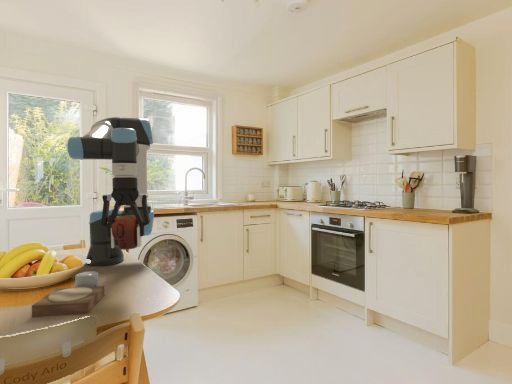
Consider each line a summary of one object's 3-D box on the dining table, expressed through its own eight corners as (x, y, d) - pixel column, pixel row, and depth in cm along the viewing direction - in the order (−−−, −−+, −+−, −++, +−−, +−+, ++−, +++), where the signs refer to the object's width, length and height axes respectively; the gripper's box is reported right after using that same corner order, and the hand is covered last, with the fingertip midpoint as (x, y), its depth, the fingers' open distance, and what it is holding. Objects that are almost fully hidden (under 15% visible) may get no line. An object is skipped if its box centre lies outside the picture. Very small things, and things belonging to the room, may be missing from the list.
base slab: (56, 297, 101) (56, 286, 100) (104, 295, 102) (104, 284, 102) (32, 316, 87) (31, 304, 87) (87, 313, 89) (87, 301, 88)
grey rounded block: (80, 283, 115) (80, 271, 115) (101, 282, 116) (101, 271, 116) (72, 289, 108) (71, 277, 108) (94, 288, 109) (94, 276, 109)
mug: (123, 244, 114) (123, 215, 113) (146, 245, 112) (146, 215, 111) (101, 252, 102) (100, 219, 101) (126, 253, 100) (125, 220, 100)
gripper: (87, 176, 101) (89, 250, 102) (155, 176, 103) (156, 248, 105) (95, 176, 108) (97, 245, 109) (159, 176, 111) (160, 243, 112)
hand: (126, 246), depth 107 cm, fingers closed on mug, 7 cm apart
